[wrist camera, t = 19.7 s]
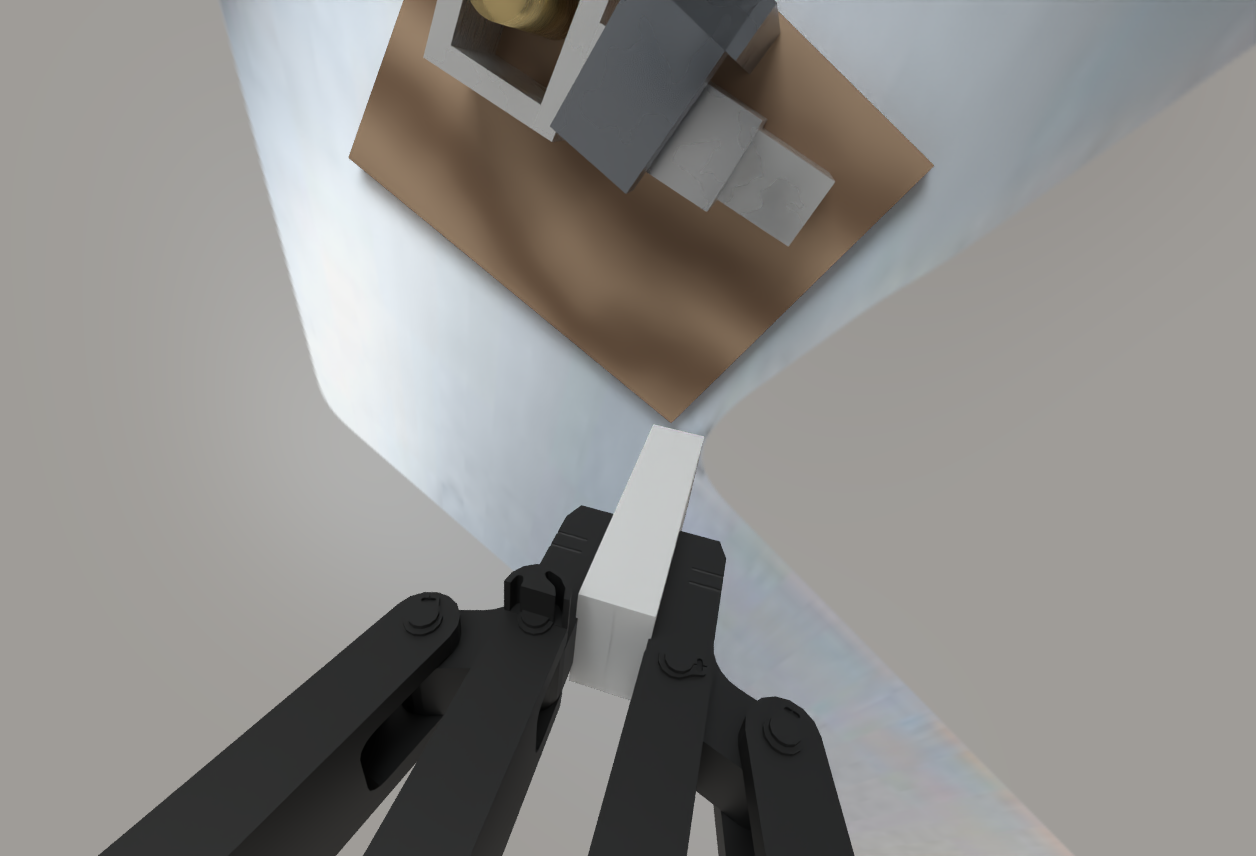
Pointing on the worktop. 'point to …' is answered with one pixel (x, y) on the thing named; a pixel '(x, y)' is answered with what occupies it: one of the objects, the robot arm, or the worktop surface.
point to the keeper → (656, 76)
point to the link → (692, 157)
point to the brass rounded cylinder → (531, 15)
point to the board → (629, 206)
